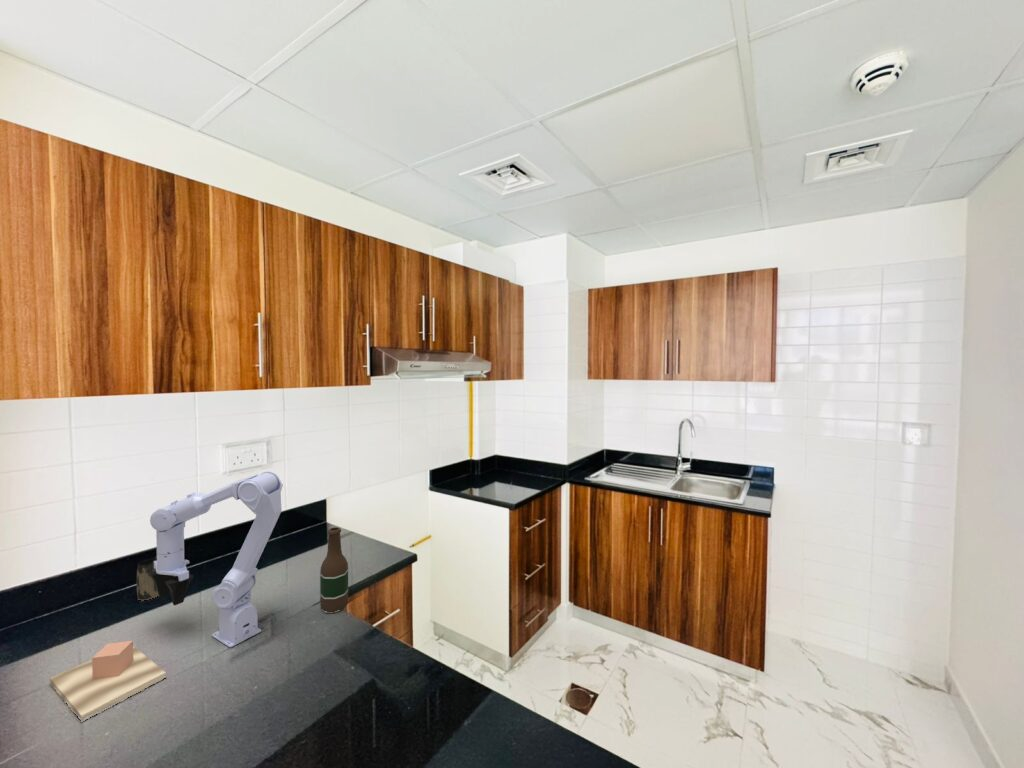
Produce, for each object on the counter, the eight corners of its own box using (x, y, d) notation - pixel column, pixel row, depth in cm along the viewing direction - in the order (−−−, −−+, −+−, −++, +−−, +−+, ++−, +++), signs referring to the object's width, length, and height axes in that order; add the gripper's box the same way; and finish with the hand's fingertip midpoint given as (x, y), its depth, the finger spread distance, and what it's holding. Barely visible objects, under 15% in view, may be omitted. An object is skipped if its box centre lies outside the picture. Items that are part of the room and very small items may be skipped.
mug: (143, 603, 127) (142, 564, 126) (132, 599, 129) (132, 560, 128) (172, 590, 134) (172, 553, 134) (162, 586, 136) (161, 550, 136)
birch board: (165, 678, 97) (165, 672, 97) (81, 722, 84) (81, 715, 84) (130, 648, 106) (129, 643, 106) (50, 684, 94) (49, 677, 94)
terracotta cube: (133, 661, 100) (132, 640, 100) (118, 676, 95) (118, 654, 95) (108, 664, 99) (108, 643, 99) (92, 679, 94) (92, 657, 94)
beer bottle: (320, 616, 121) (319, 535, 120) (320, 602, 128) (320, 526, 128) (348, 611, 124) (348, 531, 124) (347, 597, 132) (347, 522, 131)
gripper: (201, 550, 112) (202, 599, 113) (174, 539, 119) (175, 585, 120) (170, 560, 106) (171, 613, 107) (144, 548, 113) (144, 597, 113)
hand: (171, 599), depth 113 cm, fingers open, 7 cm apart
